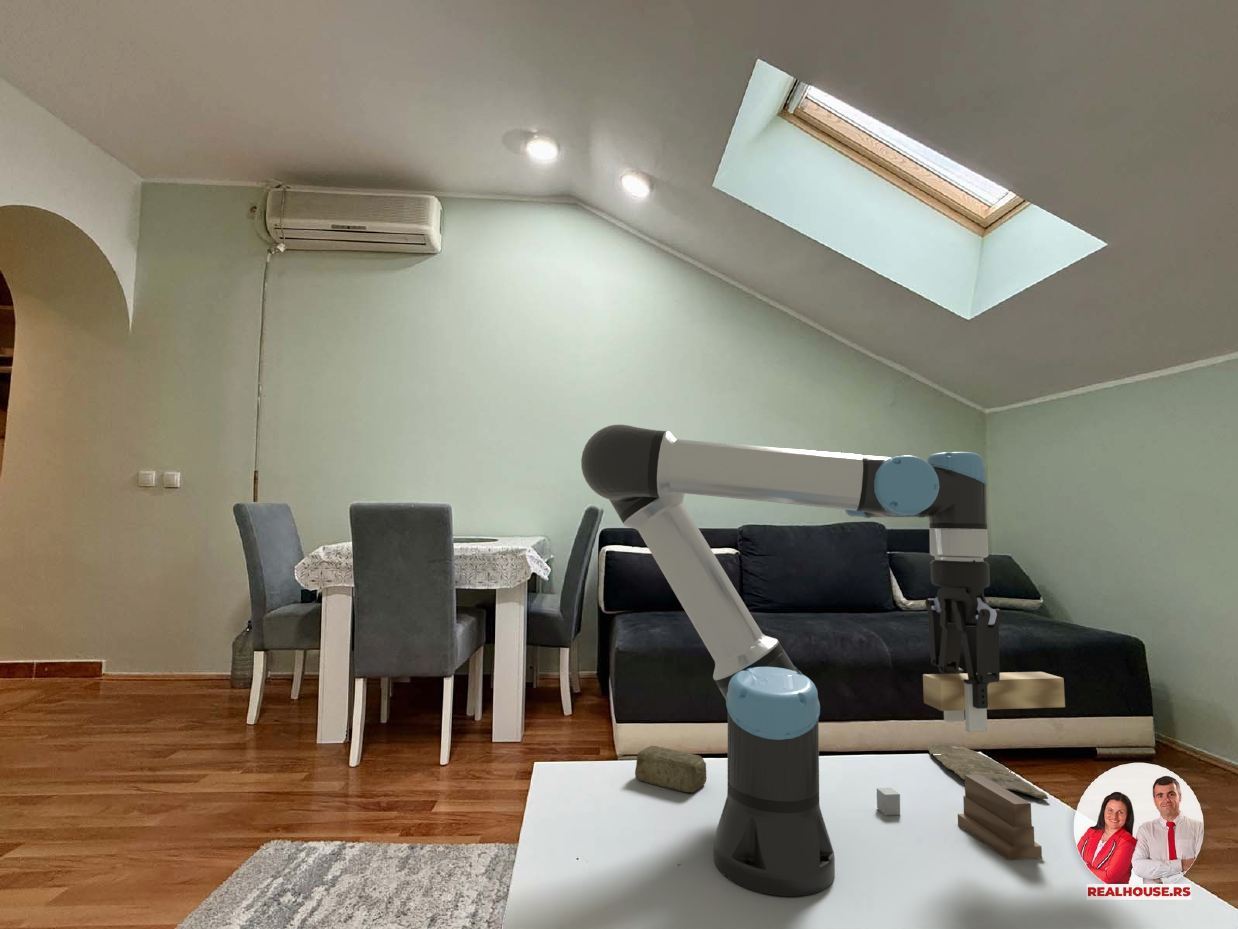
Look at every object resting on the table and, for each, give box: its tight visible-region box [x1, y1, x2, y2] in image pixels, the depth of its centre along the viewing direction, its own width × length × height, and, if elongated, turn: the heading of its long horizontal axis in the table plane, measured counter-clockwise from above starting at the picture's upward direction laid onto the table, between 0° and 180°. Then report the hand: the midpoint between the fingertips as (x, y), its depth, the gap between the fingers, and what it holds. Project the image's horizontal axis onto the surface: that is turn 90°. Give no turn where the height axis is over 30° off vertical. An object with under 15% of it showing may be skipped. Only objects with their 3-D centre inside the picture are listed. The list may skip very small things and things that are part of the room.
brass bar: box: [922, 671, 1066, 712], centre depth 91 cm, size 19×4×4 cm, turn 98°
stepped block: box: [957, 774, 1043, 861], centre depth 90 cm, size 5×10×7 cm, turn 8°
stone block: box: [634, 745, 707, 793], centre depth 108 cm, size 6×12×5 cm, turn 59°
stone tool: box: [927, 742, 1049, 800], centre depth 114 cm, size 11×3×25 cm
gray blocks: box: [876, 787, 901, 816], centre depth 99 cm, size 17×2×3 cm, turn 97°
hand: (965, 725), depth 90 cm, fingers closed on brass bar, 4 cm apart
